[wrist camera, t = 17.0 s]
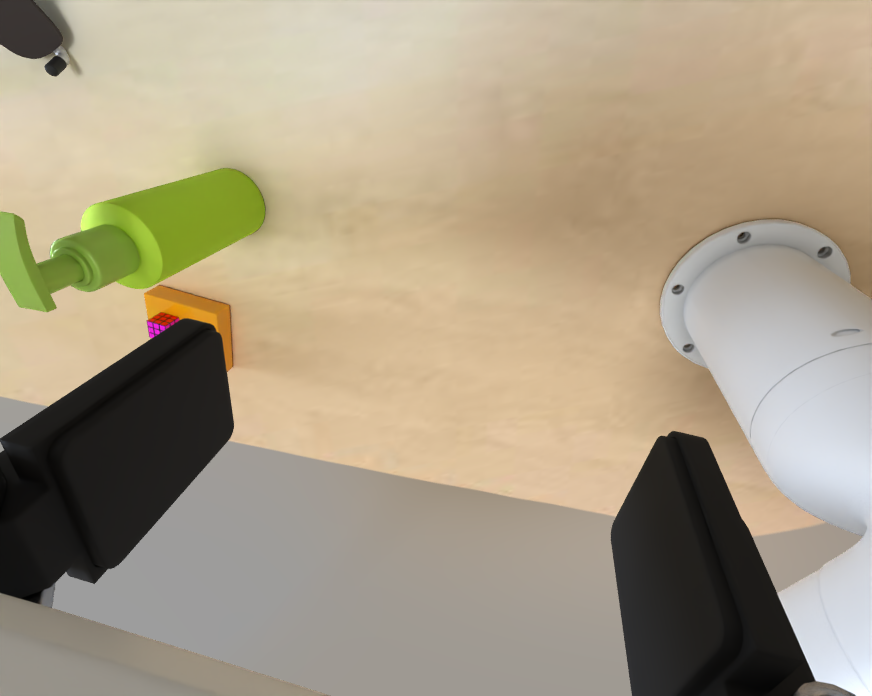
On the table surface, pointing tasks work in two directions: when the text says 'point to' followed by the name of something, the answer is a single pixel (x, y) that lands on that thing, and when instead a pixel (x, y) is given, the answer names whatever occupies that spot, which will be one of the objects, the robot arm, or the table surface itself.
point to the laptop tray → (31, 34)
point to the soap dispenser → (134, 237)
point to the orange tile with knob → (187, 314)
